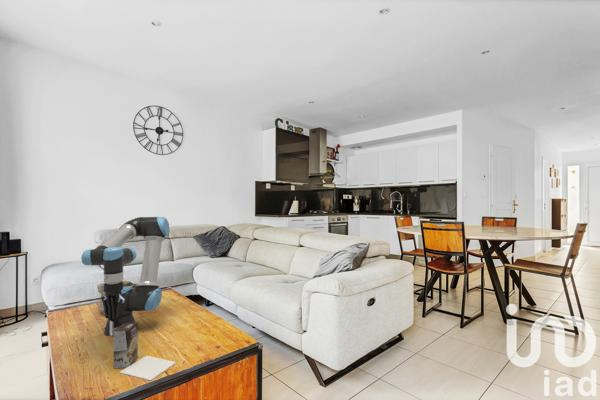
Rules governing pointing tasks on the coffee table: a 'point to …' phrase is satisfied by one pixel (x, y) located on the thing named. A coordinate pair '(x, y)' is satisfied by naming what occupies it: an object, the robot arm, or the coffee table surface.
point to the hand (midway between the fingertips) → (113, 334)
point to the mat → (148, 368)
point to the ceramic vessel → (101, 290)
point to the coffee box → (125, 345)
